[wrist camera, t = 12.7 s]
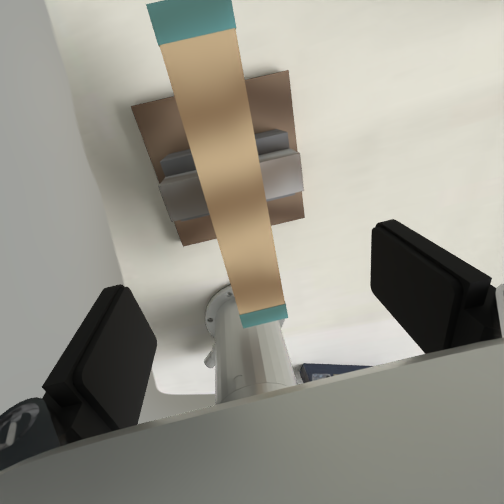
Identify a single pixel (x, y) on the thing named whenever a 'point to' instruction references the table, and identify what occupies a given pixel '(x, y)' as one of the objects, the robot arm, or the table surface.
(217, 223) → the oak beam
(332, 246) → the table surface
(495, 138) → the table surface
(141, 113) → the fulcrum stand
